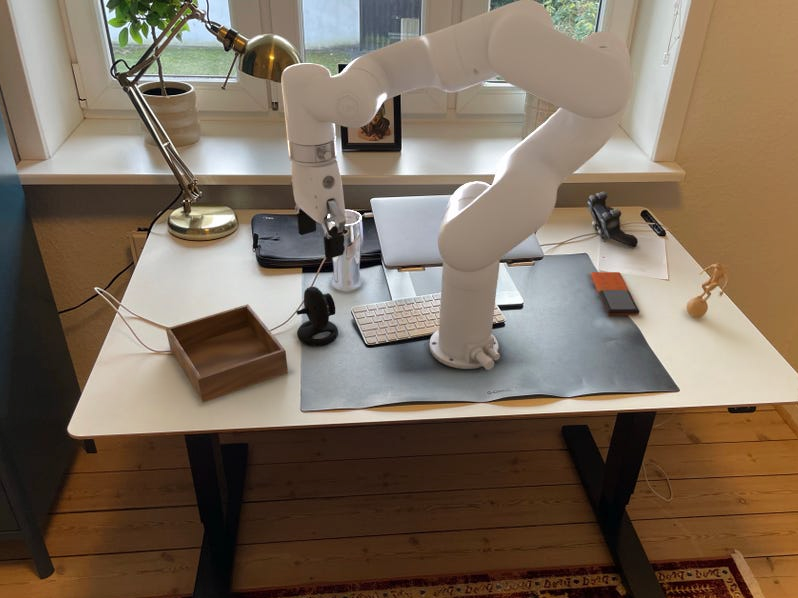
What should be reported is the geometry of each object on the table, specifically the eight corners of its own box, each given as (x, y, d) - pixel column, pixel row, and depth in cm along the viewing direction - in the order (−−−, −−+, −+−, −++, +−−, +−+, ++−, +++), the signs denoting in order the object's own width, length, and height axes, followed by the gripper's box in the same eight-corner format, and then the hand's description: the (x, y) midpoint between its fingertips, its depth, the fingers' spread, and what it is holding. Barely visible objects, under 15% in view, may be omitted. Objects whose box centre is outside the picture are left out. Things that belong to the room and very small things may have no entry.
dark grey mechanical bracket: (589, 226, 181) (576, 194, 175) (615, 213, 180) (603, 180, 174) (613, 261, 169) (600, 227, 163) (641, 247, 168) (629, 212, 162)
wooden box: (288, 372, 129) (285, 350, 126) (202, 402, 122) (198, 379, 119) (251, 325, 140) (248, 303, 136) (170, 350, 133) (165, 328, 130)
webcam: (345, 341, 137) (343, 295, 131) (307, 352, 134) (303, 306, 128) (328, 319, 142) (325, 274, 136) (291, 329, 139) (287, 284, 133)
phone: (620, 270, 158) (641, 311, 146) (619, 276, 159) (639, 316, 147) (590, 270, 158) (608, 311, 146) (589, 276, 158) (607, 316, 147)
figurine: (676, 304, 151) (691, 252, 144) (703, 302, 152) (720, 251, 145) (694, 328, 145) (711, 275, 137) (723, 326, 146) (741, 273, 138)
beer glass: (358, 295, 149) (357, 228, 140) (325, 290, 150) (321, 223, 141) (367, 277, 154) (367, 211, 145) (335, 272, 155) (332, 207, 146)
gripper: (360, 161, 113) (365, 259, 124) (308, 126, 125) (316, 219, 135) (316, 172, 110) (325, 272, 121) (267, 135, 121) (278, 229, 132)
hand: (320, 244), depth 128 cm, fingers open, 9 cm apart
